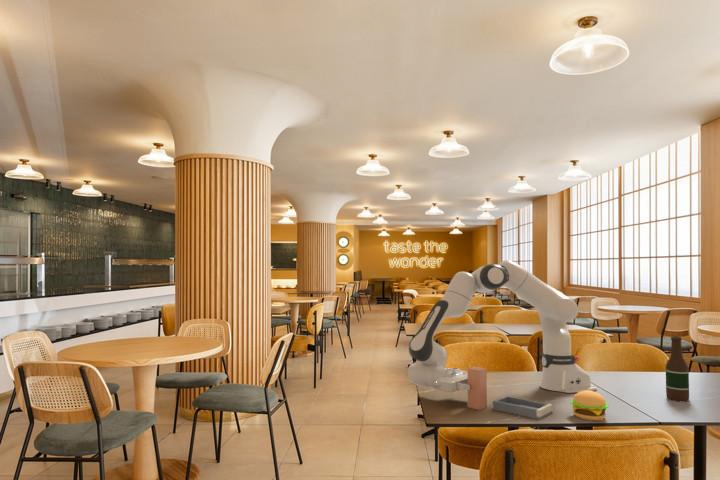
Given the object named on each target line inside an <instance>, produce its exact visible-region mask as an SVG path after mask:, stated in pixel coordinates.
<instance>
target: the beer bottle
mask: <svg viewBox="0 0 720 480" xmlns="http://www.w3.org/2000/svg"><path fill="white" fill-rule="evenodd" d="M670 340H671V343H670V344H671V346H670V348H671V349H670V350H671V351H670V357H669V359H668V360H667V361H666V364H665V393H666V394H665V395H666V399H667V398H668V400H670V401H673V400H675V401H674V402H680V401H685V402H689V400H690V378H689V377H690V373H689V372H690V371H689V365H688V363H687V361H686V360H685V358H684V356H683V349H682V340H683V339H682V337H681V336H674V335H673V336H671V337H670Z"/></svg>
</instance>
